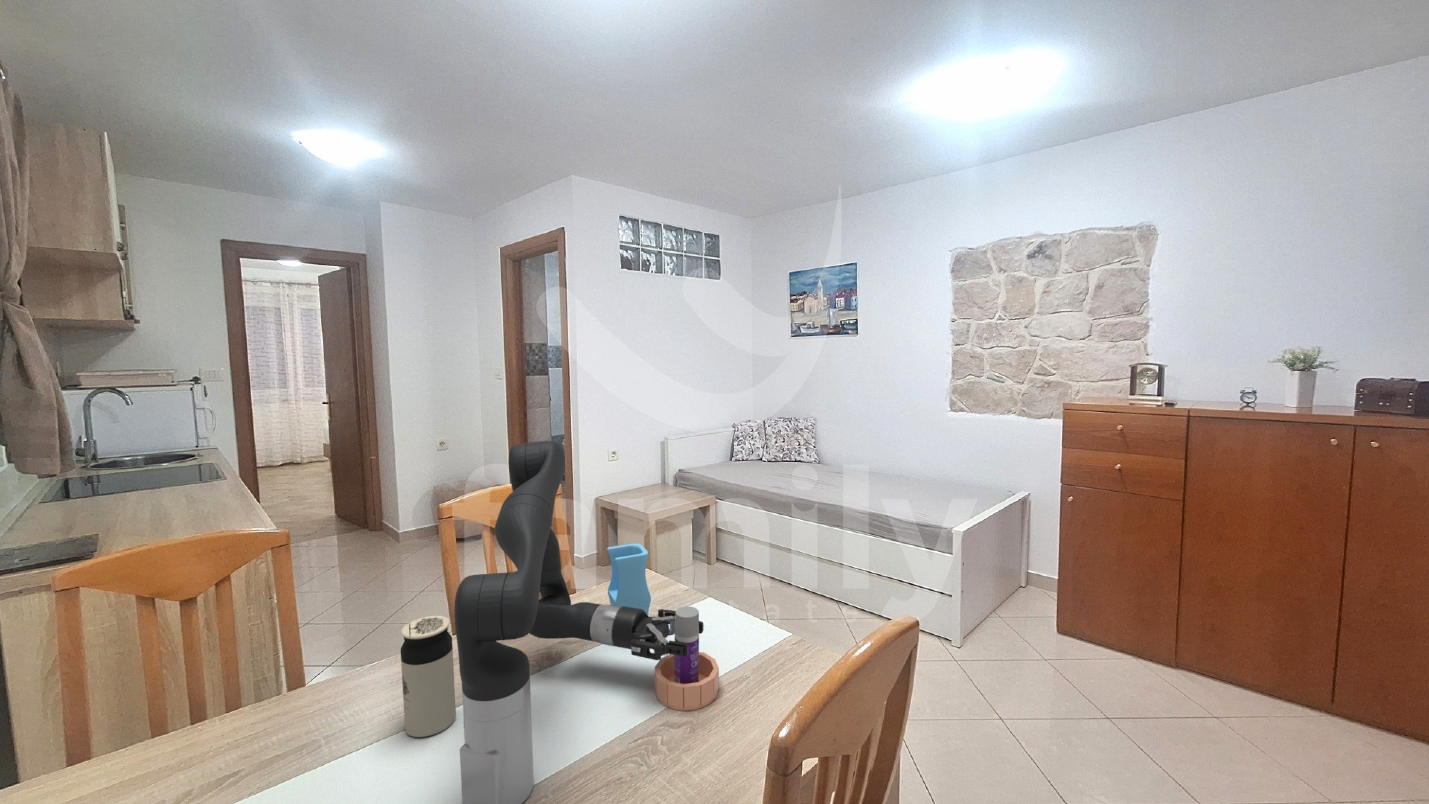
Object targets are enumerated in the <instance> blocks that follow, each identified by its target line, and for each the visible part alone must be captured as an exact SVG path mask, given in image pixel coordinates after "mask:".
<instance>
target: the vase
mask: <svg viewBox="0 0 1429 804" xmlns="http://www.w3.org/2000/svg"><path fill="white" fill-rule="evenodd" d="M607 552H608V555H609V558H610V559H609V560H610V564H611V576H610V577H611V578H610V581H609V584H608V588H607V595H608V599H609V603H610V604H609V605H618V606H625V607H632V608H638V609H643V610H644V611H645V612H646V614H647V615H648V616H649V611H650V610H649V609H650V606H651V602H652V595H651V593H650V590H649V587H648V583H647V578H646V568H647V560H648V557H649V556H648V555H649V551H648V550H647V549H646V548H645V547H644V546H643V545H642V544H641V543H635V542H634V543H629V544H621V545H617V546H610V547H607Z"/></svg>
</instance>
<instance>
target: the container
mask: <svg viewBox="0 0 1429 804" xmlns="http://www.w3.org/2000/svg"><path fill="white" fill-rule="evenodd" d="M675 611H676V614H675V634H674V641H676V642H682V643H687V644H688V646H689V653H688V655H687V656H678V655H674V682H675V683H681V684H689V683H696V682H698V672H699V652H700V634H699V621H700V613H699V609H698V608H696V607H695V606H694V607H693V606H690V605H689V606H681V607H678V608H677V609H676V610H675Z"/></svg>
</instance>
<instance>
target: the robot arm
mask: <svg viewBox="0 0 1429 804" xmlns="http://www.w3.org/2000/svg"><path fill="white" fill-rule="evenodd" d="M565 456H566V455H565V452H564V450H563V447H562V445H561V444H560V443H558V442H557V441H554V440H542V441H534V442H533V441H532V442H523V443H516V444H514V445H512V447H510V450H509V453H508V473H509V479H510V485H511V488H512V492H511V493H510V494H508V496H506V498H505V500H504V501H503V503H502V505H501V507H500V510H499V513H498V516H497V519H496V521H495V525H494V535H495V538H496V541H497V543H498V545H499V548H500V549H501V550H502V551H503V553H504V554H505V555H506V556H507V557H508V559H509V560H511V562H512V563H513V565H514V566H515V568H516V571H511V572H509V571H508V572H497V573H496V572H494V573H482V574H481V573H479V574H478V573H477V574H472V575H468V576H466V577H464V578H463V579H462V580H461V582H460V583H459V585H458V586H457V589H456V593H455V597H454V610H453V611H454V613H453V615H454V626H455V634H456V635H455V636H456V644H457V652H458V655H457V656H458V662H459V663H458V665H459V675H460V680H461V692H462V693H461V694H462V708H463V709H462V711H463V712H462V715H463V716H462V717H463V731H464V733H463V736H464V743H463V745H462V746H461V747H460V748H459V761H460V763H459V765H460V781H461V783H460V784H461V800H462V802H461V803H462V804H523V803H524V802H525V801H526V800H527V799H528V798H529V796H530V795H531V792H532V791H533V788H534V785H535V781H534V775H535V774H534V753H533V727H532V726H533V725H532V723H533V721H532V702H531V701H532V697H531V693H532V692H531V673H530V672H531V670H530V660H529V658H528V655H527V654H526V653H525V652H524V651H523V650H521V649H518V648H516V647H513V646H510V645H506V644H503V643H502V642H499V641H511V640H517V639H522V638H524V637H526V636H528V635H529V634H530V636H533V637H535V638H537V639H538V638H540V639H545V640H546V639H548V640H550V639H551V640H553V639H572V638H573V639H577V640H578V639H579V640H584V641H590V642H595V643H598V644H601V645H604V646H610V647H616V648H622V649H627V650H630V652H631V655H632V656H636V657H640V658H644V659H648V660H649V659H650V660H654V661H659V660H660V659H662V657H665V656H667V655H669V654H672V655H678V656H687V655H688V653H689V646H688V644H687V643H682V642H676V641H675V640H668V639H666V638H668V636H675V614H676V610H672V609H671V610H670V609H664V608H661V609H658V610H657V616H649V614H648V615H647V614H646V612H645V611H644V610H643V609H638V608H632V607H625V606H618V605H611V604H600V603H594V602H587V601H584V602H583V601H581V602H577V603H572V600H571V596H570V593H569V591H568V588H567V584H566V581H565V578H564V576H563V574H562V564H561V563H562V561H561V551H560V544H559V541H558V538H557V535H556V533H555V531H554V530H553V529H552V523H553V517H554V516H553V515H554V509H555V503H556V498H557V495H558V494H557V493H558V491H559V488H560V486H561V484H562V483H561V482H562V480H563V476H564V473H565V466H566V465H565V464H566V457H565ZM703 632H704V622H703V621H701V620H699V635H700V634H702V633H703ZM651 650H653V651H654V652H651Z"/></svg>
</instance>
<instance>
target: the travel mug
mask: <svg viewBox="0 0 1429 804" xmlns="http://www.w3.org/2000/svg"><path fill="white" fill-rule="evenodd" d="M450 624H451V621H450V619H449V618H447V617H446V616H443V615H431V616H430V615H429V616H424V617H421V618H417V619H414V620H411V621H410V622H409V623H407V624H406V625H405V626H403V627H402V629H401V631H400V634H401V636H402V637H403V643H402V645H401V647H400V661H401V662H400V664H401V665H400V666H401V682H402V695H403V697H402V698H403V715H404V730H405V733H406V734H407V735H409V736H411V737H415V738H422V737H423V738H425V737H429V736H432V735H436V734H438V733H440V732H443V731H444V730H445V729H447V728H449V727H450V726H451V725H452V724H453V723H454V721H455V719H456V717H457V710H456V709H457V708H456V706H457V705H456V689H455V672H454V671H455V670H454V652H453V650H454V649H453V637H452V635H451V633H450V632H449V631H448V629H449V626H450Z"/></svg>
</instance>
